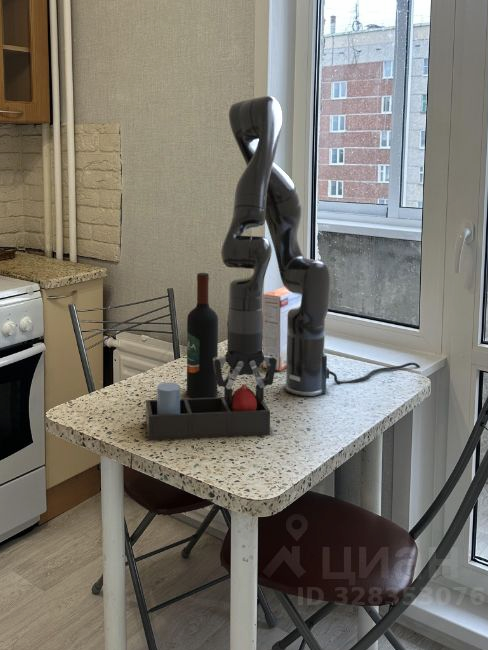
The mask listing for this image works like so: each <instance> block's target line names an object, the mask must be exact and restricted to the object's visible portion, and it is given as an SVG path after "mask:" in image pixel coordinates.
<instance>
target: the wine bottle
mask: <svg viewBox="0 0 488 650" xmlns="http://www.w3.org/2000/svg"><path fill="white" fill-rule="evenodd" d="M209 274H210V273H207V272H197V274H196V275H197V276H196V281H197V282H196V285H197V286H196V307H194V308H193V309H192V310H190V311H189V313H188V314H187V317H186V318H187V319H186V396H187V398H211V397H218V384H217V382H216V377H215V371H214V364H213V357H215V356H216V357H218V358H219V356H218V355H219V354H218V353H219V318H218V317H219V316H218V314H217V312H215V311H214V309H212V308H211V307H210V305H209V281H210V276H209Z"/></svg>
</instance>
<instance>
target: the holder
mask: <svg viewBox="0 0 488 650" xmlns="http://www.w3.org/2000/svg"><path fill="white" fill-rule="evenodd" d="M145 426H146V432H147V437H148V441H158V440H177V439H178V440H181V439H201V438H202V439H203V438H220V437H222V438H223V437H241V436H263V435H264V436H265V435H270V434H271V432H270V431H271V410H270V409H269V407H268V406H267V404H266V403H265V401H264V400H263V402H261V404H260V405H257V408H256V410H255V411H233V410H232V408H231V405H230V406H228V403H226V401H225V399H224V396H216V397H211V398H190V397H186V398H185V397H184V398H180V414H162V415H157V399H146V400H145Z"/></svg>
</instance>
